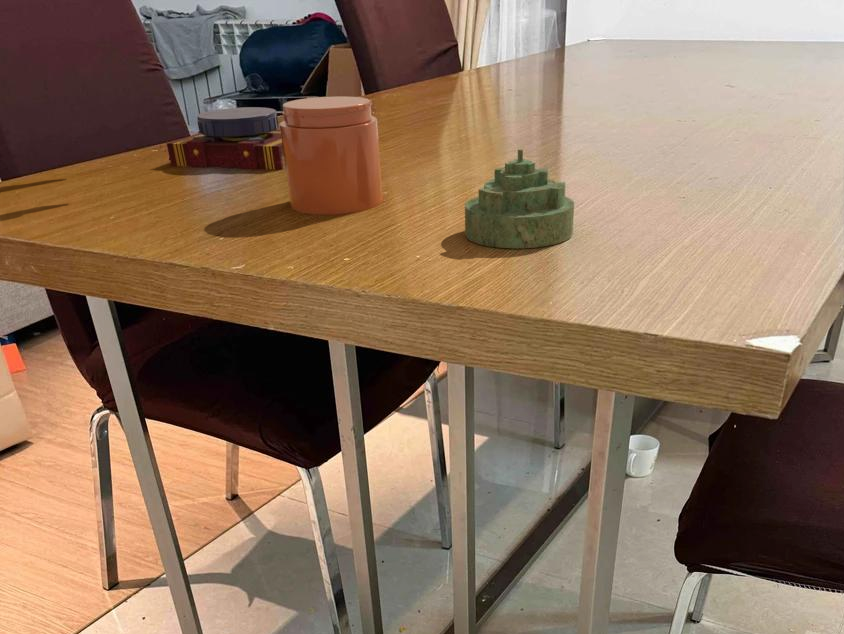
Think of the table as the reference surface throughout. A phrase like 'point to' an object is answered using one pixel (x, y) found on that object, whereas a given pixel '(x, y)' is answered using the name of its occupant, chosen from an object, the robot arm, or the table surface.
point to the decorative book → (229, 151)
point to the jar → (331, 155)
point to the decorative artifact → (520, 209)
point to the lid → (237, 122)
